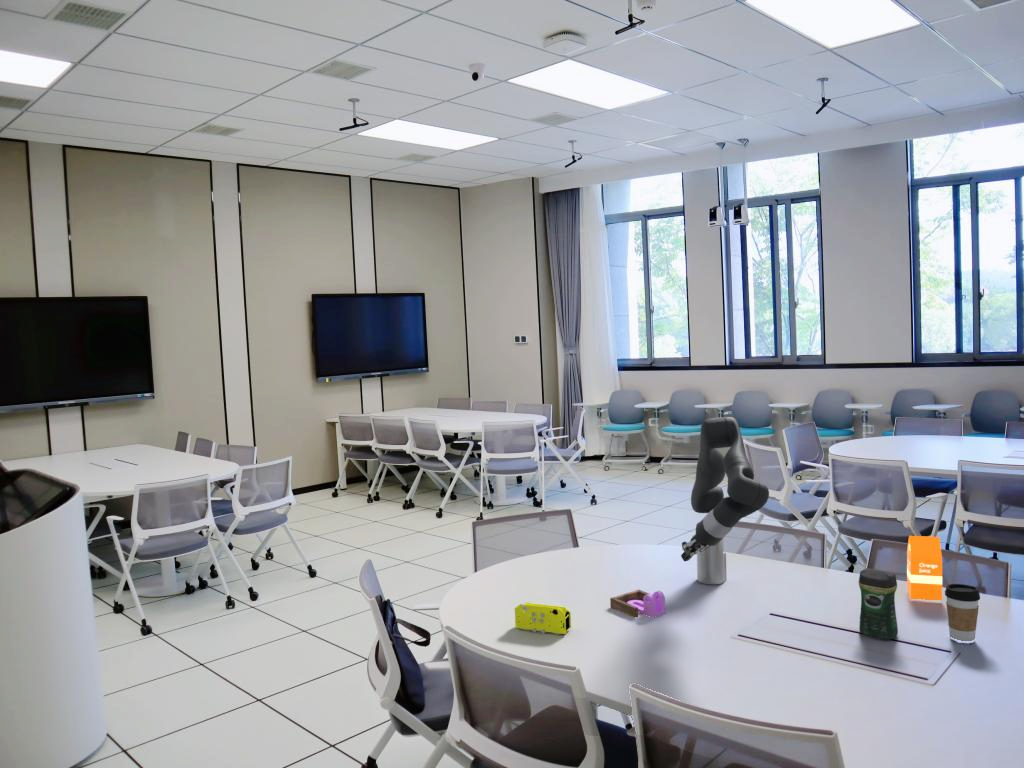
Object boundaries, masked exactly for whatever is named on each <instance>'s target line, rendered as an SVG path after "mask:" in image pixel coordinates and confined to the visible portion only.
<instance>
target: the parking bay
mask: <svg viewBox="0 0 1024 768" xmlns="http://www.w3.org/2000/svg"><path fill="white" fill-rule="evenodd" d="M647 594H651V593H648V592H646V591H643V590H641V589H636V590H633V591H630V592H626V593H622V594H620V595H619V594H618V595H616V596H613V597H610V599H609V601H610V604H609V605H610V608H612V609H614V610H616V611H618V612H620V613H622V614H625V615H627V614H628V615H627V616H630V617H632V616H633V618H634V617H637V618H638V617H639V613H638V607H635V606H633V605H631V604H628V603H627V602H628V601H630V600H641V601H643V597H644V596H645V595H647ZM651 595H653V593H652V594H651Z"/></svg>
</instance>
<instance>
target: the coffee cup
mask: <svg viewBox="0 0 1024 768" xmlns="http://www.w3.org/2000/svg"><path fill="white" fill-rule="evenodd" d="M944 596H945V597H946V601H945V603H946V604H945V605H946V612H947V621H948V631H949V638H950V637H952V638H954V639H957V640H961V641H972V640H974V639H975V640H976V631H977V625H978V615H979V614H978V613H979V601H980V600H981V595H980V590H979V588H978V587H977V586H975V585H969V584H963V583H950V584H947V585H946V587H945V590H944Z"/></svg>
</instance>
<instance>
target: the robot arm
mask: <svg viewBox="0 0 1024 768" xmlns="http://www.w3.org/2000/svg"><path fill="white" fill-rule="evenodd" d="M739 425H740V424H739V423H738V421H737V419H736V418H734V417H732V416H721V417H711V418H707V419H704V420H703V421H702V423H701V427H700V440H699V441H700V442H699V443H700V444H699V453H698V458H697V463H696V469H695V470H696V471H695V478H694V479H695V481H694V483H693V486H692V487H693V488H692V490H691V496H690V504H691V509H692V510H693V511H694V512H695V513H698V514H706V515H705V516H704V517H703V518H702V519H701V520H700V521H699V522H697V523H696V526H695V534H694V535H692V537H691V538H690V540H689V542H688V541H683V542H682V543H681V547H682V550H683V552H682V553H681V555H680V557H681V559H682V561H684V562H688V561H690V560H691V559H692V557H694V556H695V555H696V572H697V574H696V575H697V576H696V577H697V582H699V583H701V584H704V585H721V584H723V583H725V581H726V580H728V579H727V553H726V552H725V539H724V538H725V537H727V535H729V533H730V532H731V531H732V529H733V527H735V526H736V524H738V522H739V521H741V519H743V518H745V517H748V516H749V515H751V514H754V513H756V512H758V511H759V510H760V509H762V508H763V507H764V506H765V505H766V504H767V502H768V500H769V498H770V497H769V496H770V490H769V488H768V487H767V485H766V484H765V483H762V482H760V481H757V480H755V473H754V470H753V468H752V465H751V463H750V461H749V460H748V457H747V453H746V449H745V444H744V440H743V436H742V432H741V428H740V426H739ZM724 448H729V449H728V450H727V452H726V453H725V455H723V453H721V452H720V451H719V450H718V449H724ZM725 477H727V487H726V489H727V490H726V493H727V495H728V496H726V497H724V489H723V488H722V486H720V484H721V483H722V482H723V481H724V479H725Z"/></svg>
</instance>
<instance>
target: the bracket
mask: <svg viewBox="0 0 1024 768" xmlns="http://www.w3.org/2000/svg"><path fill="white" fill-rule="evenodd" d="M627 603H628V604H631V605H633V606H635V607H638V612H640V613H639V614H641V613H642V614H641V615H643V614H645V615H644V616H646V615H647V616H646V617H648V616H650V617H652V618H651V619H654V618H656V617H655V616H657V617H660V616H663V615H665V614H666V599H665V595H664V593H663V591H661V590H658V591H654V592H653V593H652V595H651V593H649V594H647V595H645V596H644V597H643V601H641V600H630V601H628V602H627ZM659 615H660V616H659ZM650 617H649V618H650ZM653 617H654V618H653Z"/></svg>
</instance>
